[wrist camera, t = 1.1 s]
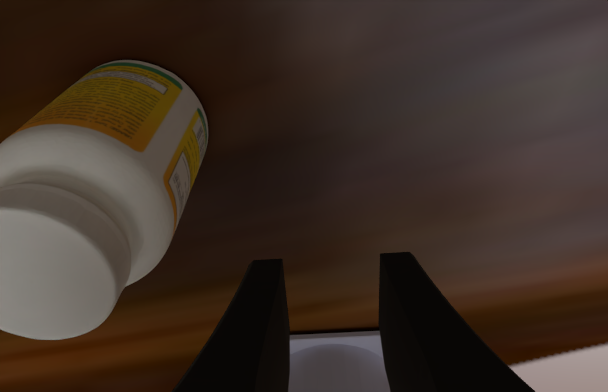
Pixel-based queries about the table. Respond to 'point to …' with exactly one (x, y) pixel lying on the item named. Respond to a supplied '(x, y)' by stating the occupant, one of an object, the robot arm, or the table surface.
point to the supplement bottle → (94, 195)
